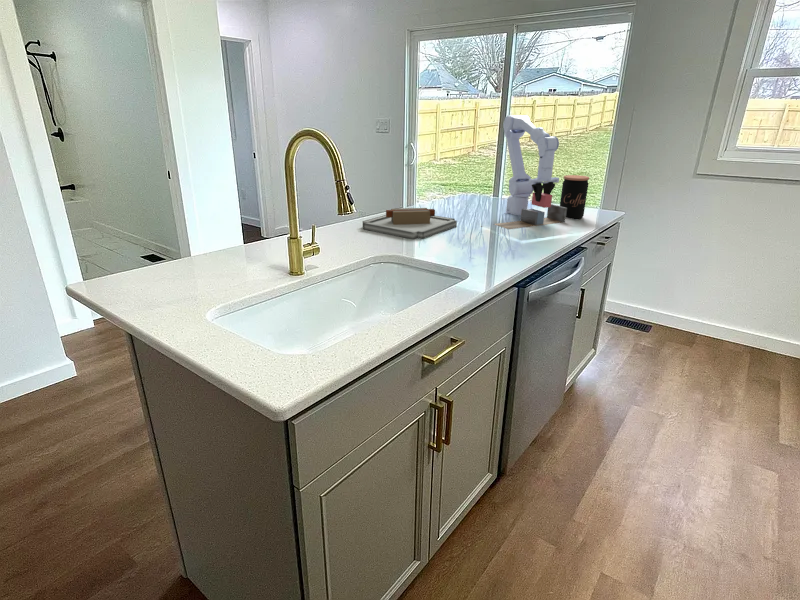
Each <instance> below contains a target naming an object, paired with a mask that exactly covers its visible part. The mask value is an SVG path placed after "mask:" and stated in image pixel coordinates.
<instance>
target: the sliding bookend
mask: <svg viewBox="0 0 800 600" xmlns="http://www.w3.org/2000/svg"><path fill="white" fill-rule="evenodd" d="M528 209H529V208H527V209H525V208H522V211H521V215H520V221H523V222H527V223H530V224H533V225H537V218H538V212H535V211H532V210H528Z"/></svg>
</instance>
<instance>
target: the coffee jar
mask: <svg viewBox="0 0 800 600" xmlns="http://www.w3.org/2000/svg"><path fill="white" fill-rule="evenodd" d="M589 181H590V177H589V176H585V175H581V174H580V175H578V174H573V175H572V174H569V175H568V174H567V175H563V182H562V184H561V185H562V186H561V193H560V202H559V206H561V207H565V208H567V212H566V218H567V219H571V220H574V221H577V220H578V221H579V220H581V219H582V218H584V214H585V209H586V201H587V196H588V190H589Z"/></svg>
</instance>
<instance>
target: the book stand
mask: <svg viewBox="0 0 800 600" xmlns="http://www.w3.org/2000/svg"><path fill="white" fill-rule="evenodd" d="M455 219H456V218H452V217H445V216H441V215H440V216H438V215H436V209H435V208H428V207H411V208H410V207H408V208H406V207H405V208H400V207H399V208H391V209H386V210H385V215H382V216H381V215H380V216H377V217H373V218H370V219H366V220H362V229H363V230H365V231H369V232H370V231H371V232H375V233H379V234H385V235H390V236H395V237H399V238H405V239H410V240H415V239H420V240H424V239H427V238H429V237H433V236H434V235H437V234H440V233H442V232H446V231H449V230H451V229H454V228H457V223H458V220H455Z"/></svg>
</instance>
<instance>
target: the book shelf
mask: <svg viewBox="0 0 800 600" xmlns="http://www.w3.org/2000/svg"><path fill="white" fill-rule="evenodd" d="M566 212H567V208H565V207H561V206H560V205H557V204H553V203H551V207H547V214H546V217H544V222H543V224H540V225H533V224H530V223H527V222H523V221H521V220H517V221H516V220H515V221H508V222H500V223H499V222H498V223H494V225H495V226H496V227H497V226H498V227H501V228H503V229H505V230H506V229H507V230H515V229H520V228H522V229H523V228H531V227H537V226H545V225H546V226H547V225H553V224H554V225H555V224H561V223H566V220H567V219H566V218H567V217H566Z"/></svg>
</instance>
